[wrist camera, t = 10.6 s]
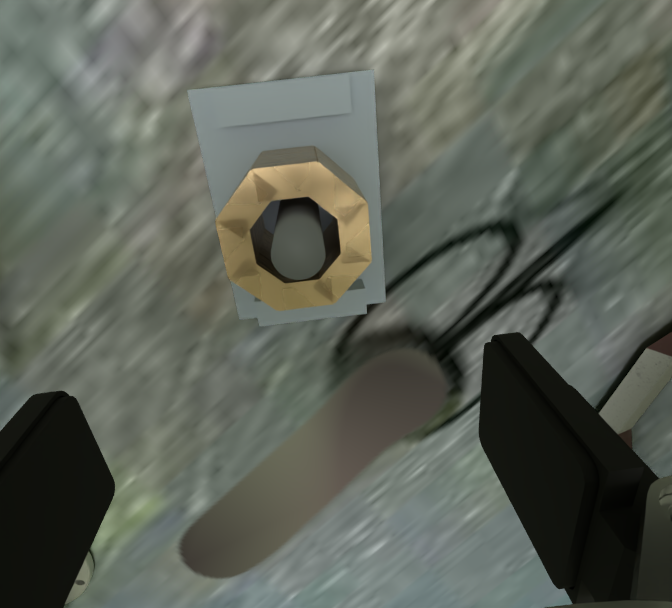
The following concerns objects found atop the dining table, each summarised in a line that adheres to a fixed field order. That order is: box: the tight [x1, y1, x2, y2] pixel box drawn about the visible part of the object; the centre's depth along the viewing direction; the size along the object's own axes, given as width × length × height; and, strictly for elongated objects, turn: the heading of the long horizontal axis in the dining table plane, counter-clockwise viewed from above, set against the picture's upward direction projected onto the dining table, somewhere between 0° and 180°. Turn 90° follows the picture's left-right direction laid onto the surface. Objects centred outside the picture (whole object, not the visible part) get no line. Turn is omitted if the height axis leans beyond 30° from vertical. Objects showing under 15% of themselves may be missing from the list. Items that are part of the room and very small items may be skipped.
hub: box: [215, 145, 372, 311], centre depth 24 cm, size 7×7×6 cm
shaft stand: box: [187, 70, 386, 327], centre depth 23 cm, size 14×10×10 cm
